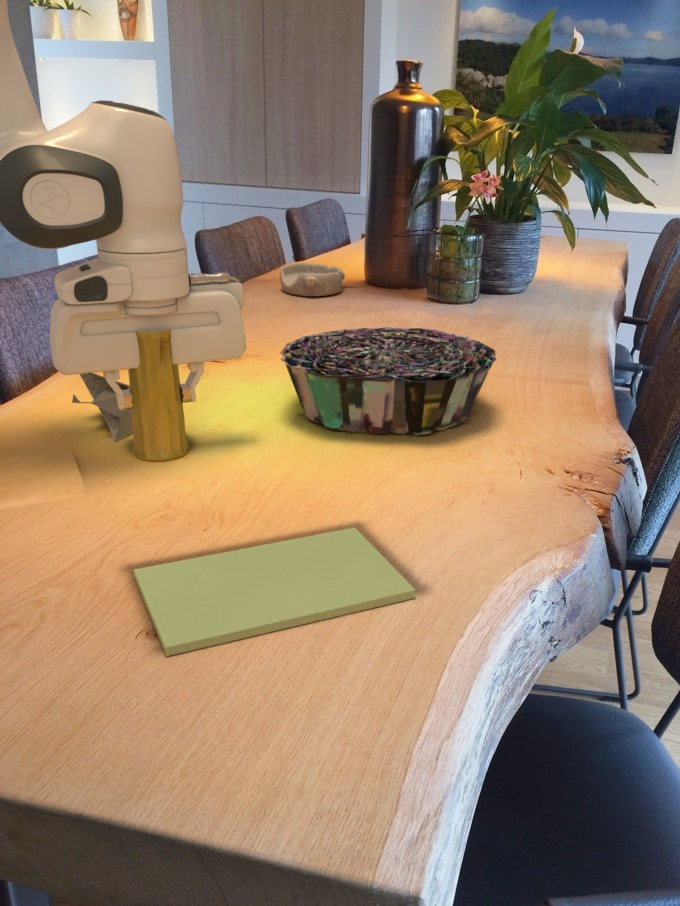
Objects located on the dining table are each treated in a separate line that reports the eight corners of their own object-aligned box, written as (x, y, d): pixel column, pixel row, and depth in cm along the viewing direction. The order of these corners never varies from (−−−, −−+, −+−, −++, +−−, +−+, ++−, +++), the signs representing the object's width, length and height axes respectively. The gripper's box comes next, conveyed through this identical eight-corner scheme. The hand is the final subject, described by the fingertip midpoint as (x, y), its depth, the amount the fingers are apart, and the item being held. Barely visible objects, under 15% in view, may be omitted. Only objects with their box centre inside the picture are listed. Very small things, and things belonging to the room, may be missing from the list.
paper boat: (172, 422, 99) (104, 420, 92) (148, 458, 102) (81, 459, 95) (130, 352, 104) (63, 345, 96) (109, 388, 107) (42, 384, 100)
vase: (169, 465, 90) (157, 335, 84) (121, 457, 92) (107, 329, 86) (198, 446, 95) (190, 323, 89) (153, 439, 97) (141, 317, 91)
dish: (318, 301, 171) (318, 276, 168) (266, 292, 177) (265, 268, 175) (357, 290, 182) (358, 267, 180) (307, 282, 188) (307, 260, 186)
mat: (166, 656, 59) (165, 647, 58) (134, 577, 68) (133, 569, 68) (415, 598, 67) (416, 589, 66) (354, 534, 76) (355, 527, 76)
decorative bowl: (513, 457, 99) (527, 377, 95) (282, 449, 94) (287, 364, 90) (458, 392, 122) (468, 325, 118) (271, 383, 117) (274, 313, 113)
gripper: (234, 266, 92) (239, 386, 98) (38, 276, 84) (57, 406, 90) (251, 276, 87) (256, 402, 93) (44, 287, 79) (64, 424, 85)
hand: (156, 404), depth 91 cm, fingers closed on vase, 5 cm apart
